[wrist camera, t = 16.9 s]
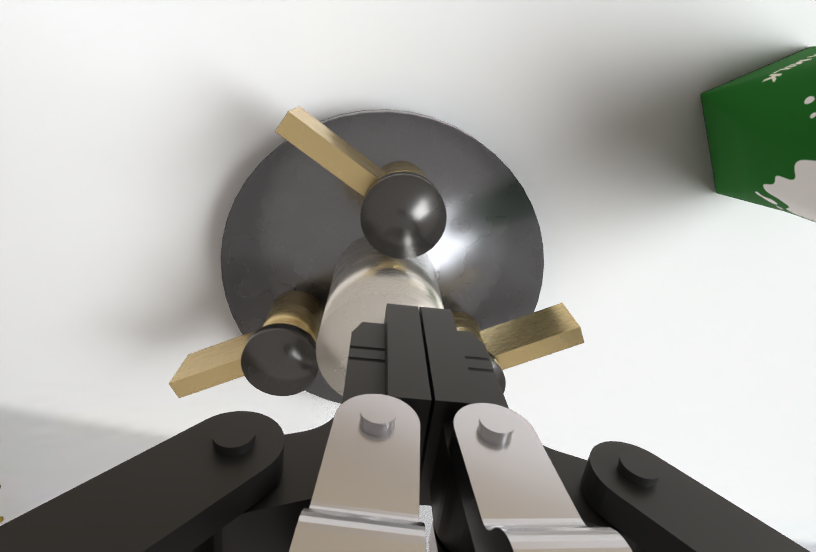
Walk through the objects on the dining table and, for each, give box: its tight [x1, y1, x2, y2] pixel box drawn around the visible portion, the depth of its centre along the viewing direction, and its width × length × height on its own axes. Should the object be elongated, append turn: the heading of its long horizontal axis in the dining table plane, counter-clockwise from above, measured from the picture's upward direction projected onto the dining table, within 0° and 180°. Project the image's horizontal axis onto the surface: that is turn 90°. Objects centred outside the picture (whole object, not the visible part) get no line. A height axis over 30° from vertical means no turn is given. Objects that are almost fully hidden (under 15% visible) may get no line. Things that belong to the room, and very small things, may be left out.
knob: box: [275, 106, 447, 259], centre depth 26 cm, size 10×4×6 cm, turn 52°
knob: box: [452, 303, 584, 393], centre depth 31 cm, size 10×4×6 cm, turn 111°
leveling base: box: [221, 110, 544, 404], centre depth 29 cm, size 22×22×12 cm
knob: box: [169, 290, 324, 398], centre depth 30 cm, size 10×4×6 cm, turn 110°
